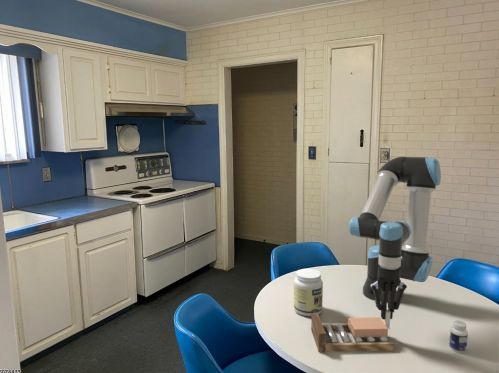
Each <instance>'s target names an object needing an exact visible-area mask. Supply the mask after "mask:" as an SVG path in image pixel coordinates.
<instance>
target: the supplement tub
mask: <svg viewBox="0 0 499 373" xmlns="http://www.w3.org/2000/svg"><path fill="white" fill-rule="evenodd" d="M323 282H324V281H323V280H322V273H321V272H320V271H319V270H316V269H313V268H302V269H298V270H297V271H296V275H295V278H294V281H293V310H294V311H295V312H296V313H297V314H298V315H300V316H303V317H312V313H318V315H319V314H321V313H322V311H323V298H324V297H323V294H324V293H323V291H324V283H323Z"/></svg>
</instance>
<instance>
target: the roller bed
mask: <svg viewBox="0 0 499 373" xmlns="http://www.w3.org/2000/svg"><path fill="white" fill-rule="evenodd" d="M338 323H339V322H338ZM325 324H326V325H325V326H324V327H325V330H326V331H325V333H326V336H328V340H329V343H339V342H338V340H337V337H336V335H335V331H333V330H332V328H331V326H330V324H331V323H325ZM336 328H337V330H338V331H337V332H338V335H339V336H340V338H341V341H342V343H351V340H350V338H349V337H348V334H347V331H345V330H344V328H343V326H342V324H340V323H339V324H337V325H336ZM348 328H349V326H348ZM349 330H350V328H349ZM349 332H350V335H351V336H352V338H353V340H354V343H359V342H364V340H363V339H362V337H354V336H353V334H352V332H351V330H350V331H349ZM377 338H378V340H379V342H389V340H388V338H387V336H383V337H377ZM365 339H366V342H377V341H376V339H375V337H365Z"/></svg>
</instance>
